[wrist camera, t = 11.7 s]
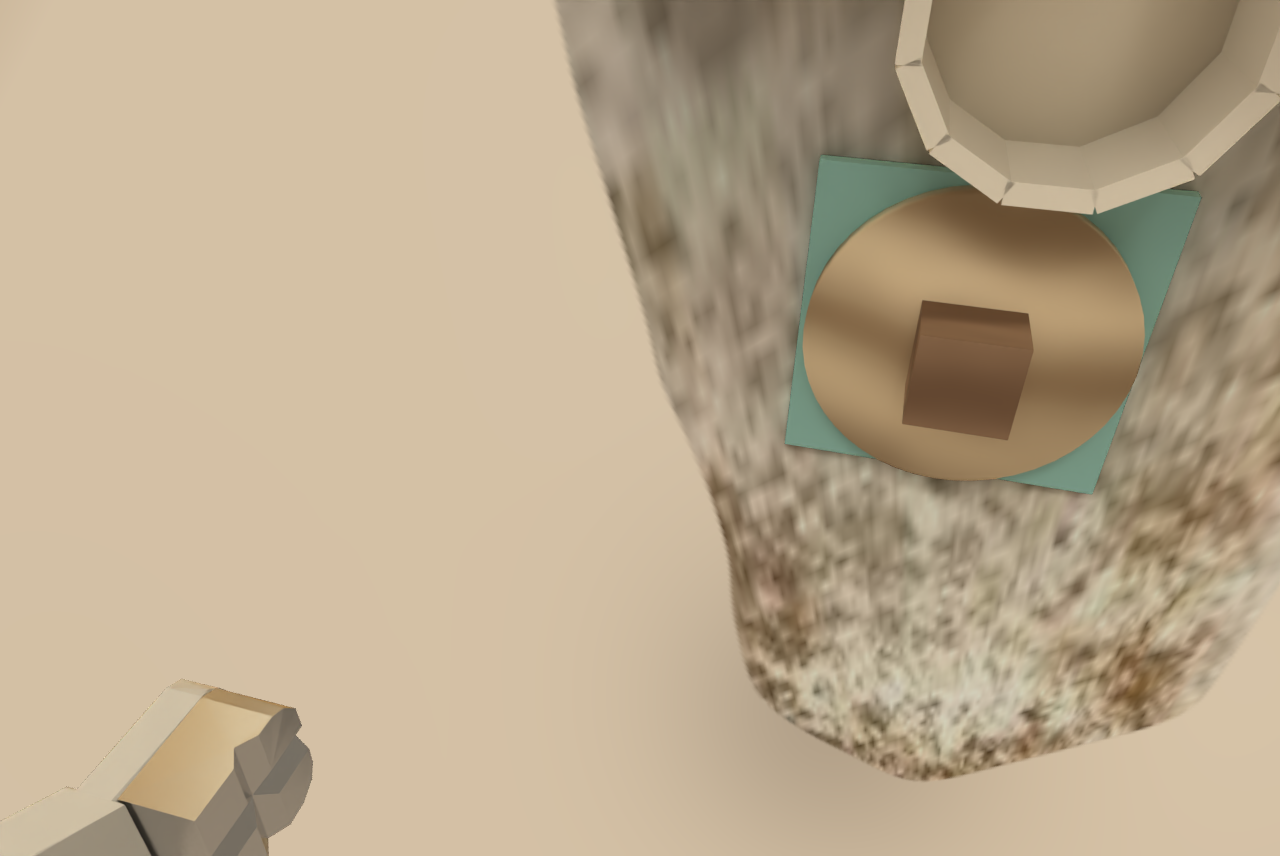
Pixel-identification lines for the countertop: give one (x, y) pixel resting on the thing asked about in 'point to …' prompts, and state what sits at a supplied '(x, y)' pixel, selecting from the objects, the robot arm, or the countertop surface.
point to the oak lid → (972, 335)
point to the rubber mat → (870, 186)
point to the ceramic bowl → (1086, 92)
